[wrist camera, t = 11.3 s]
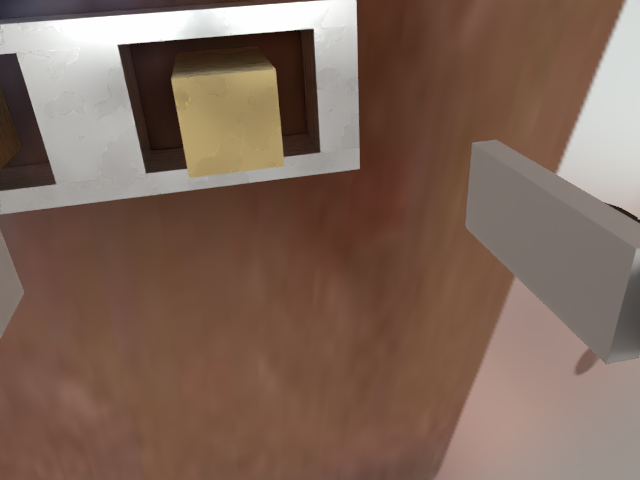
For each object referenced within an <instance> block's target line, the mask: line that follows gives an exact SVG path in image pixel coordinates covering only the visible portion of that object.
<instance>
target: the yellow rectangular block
mask: <svg viewBox="0 0 640 480" xmlns="http://www.w3.org/2000/svg"><path fill="white" fill-rule="evenodd" d="M171 81H172V87H173V92H174V98H175V103H176V109H177V114H178V120H179V125H180V131H181V136H182V142H183V147H184V153H185V158H186V164H187V169H188V175H189V178H194V177H202V176H210V175H218V174H226V173H234V172H242V171H251V170H259V169H267V168H275V167H283V166H284V155H283V144H282V133H281V122H280V112H279V101H278V90H277V79H276V69H275V68H274V67H273V65H272V64H271V63H270V62H269V60H268V59H267V58H266V56H265V55H264V54H263V53H262V51H261V50H260V49H259V48H258V46H251V47H239V48H228V49H216V50H205V51H193V52H182V53H177V55H176V59H175V64H174V68H173V73H172V77H171Z"/></svg>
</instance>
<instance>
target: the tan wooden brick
mask: <svg viewBox="0 0 640 480" xmlns="http://www.w3.org/2000/svg"><path fill="white" fill-rule="evenodd" d="M20 149H21V145H20V142H19V139H18V136H17V133H16V130H15V127H14V124H13V121H12V118H11V115H10V112H9V109H8V106H7V103H6V100H5V97H4V94H3V91H2V88H1V85H0V170H1V169H2V168H3V167H4V166H5V165H6V164H7V163H8V162H9V161H10V159H11V158H12V157H13V156H14V155H15V154H16V153H17V152H18V151H19V150H20Z"/></svg>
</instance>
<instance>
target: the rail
mask: <svg viewBox="0 0 640 480" xmlns="http://www.w3.org/2000/svg"><path fill="white" fill-rule="evenodd" d="M290 30H301V45H302V60H303V74H304V89H305V104H306V119H307V133H305V134H296V135H287V136H282V144H283V155H284V166H283V167H275V168H267V169H259V170H251V171H242V172H234V173H226V174H218V175H210V176H202V177H194V178H189V175H188V169H187V164H186V158H185V153H184V147H182V148H173V149H164V150H155V151H151V147H150V142H149V137H148V133H147V128H146V123H145V119H144V114H143V109H142V104H141V100H140V95H139V90H138V85H137V81H136V76H135V71H134V66H133V62H132V57H131V52H130V48H129V44H132V43H144V42H156V41H168V40H180V39H193V38H205V37H217V36H229V35H241V34H253V33H266V32H278V31H290ZM10 53H16V54H17V57H18V61H19V64H20V67H21V70H22V74H23V77H24V80H25V83H26V87H27V90H28V93H29V96H30V100H31V103H32V106H33V109H34V113H35V116H36V119H37V122H38V126H39V129H40V132H41V135H42V139H43V142H44V145H45V148H46V152H47V155H48V158H49V161H50V162H49V163H41V164H32V165H23V166H14V167H5V168H2V169H1V170H0V214H7V213H15V212H23V211H31V210H39V209H47V208H54V207H62V206H70V205H78V204H86V203H94V202H102V201H110V200H118V199H126V198H134V197H142V196H150V195H157V194H165V193H173V192H181V191H189V190H197V189H205V188H213V187H221V186H229V185H237V184H245V183H252V182H260V181H268V180H276V179H284V178H292V177H300V176H308V175H316V174H324V173H332V172H340V171H347V170H355V169H360V152H359V103H358V53H357V4H356V0H254V1H240V2H226V3H212V4H199V5H185V6H171V7H157V8H144V9H130V10H116V11H102V12H88V13H75V14H61V15H47V16H33V17H19V18H6V19H0V54H10Z"/></svg>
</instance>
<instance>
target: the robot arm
mask: <svg viewBox="0 0 640 480" xmlns="http://www.w3.org/2000/svg"><path fill="white" fill-rule="evenodd" d="M465 227H466V228H467V229H468V230H469V231H470V232H471V233H472V234H473V235H474V236H475V237H476V238H477V239H478V240H479V241H480V242H481V243H482V244H483V245H484V246H485V247H486V248H487V249H488V250H489V251H490V252H491V253H492V254H493V255H494V256H495V257H497V258H498V259H499V260H500V261H501V262H502V263H503V264H504V265H505V266H506V267H507V268H508V269H509V270H510V271H511V272H512V273H513V274H514V275H515V276H516V277H517V278H518V279H519V280H520V281H521V282H522V283H523V284H524V285H525V286H526V287H527V288H528V289H529V290H530V291H532V293H534V294H535V295H536V296H537V297H538V298H539V299H540V300H541V301H542V302H543V303H544V304H545V305H546V306H547V307H548V308H549V309H550V310H551V311H552V312H553V313H554V314H555V315H556V316H557V317H558V318H559V319H560V320H561V321H562V322H563V323H564V324H565V325H566V326H568V328H570V329H571V330H572V331H573V332H574V333H575V334H576V335H577V336H578V337H579V338H580V339H581V340H582V341H583V342H584V343H585V344H586V345H587V346H588V347H589V348H590V349H591V350H592V351H593V352H594V353H595V354H596V355H597V356H598V357H599V358H600V359H601V360H602V361H603V362H605V364H610V363H615V362H620V361H625V360H630V359H635V358H639V355H640V220H638V218H637V217H636V216H634V215H632V214H631V213H629V212H627V211H625V210H623V209H622V208H619V207H616V206H613V205H610V204H607V203H604V202H602V201H600V200H599V199H597V198H595V197H594V196H591V195H590V194H588V193H587V192H585V191H583V190H581V189H580V188H578V187H576V186H575V185H573V184H571V183H570V182H568V181H566V180H564V179H563V178H561V177H559V176H558V175H556V174H554V173H552V172H551V171H549V170H547V169H546V168H544V167H542V166H540V165H539V164H537V163H535V162H534V161H532V160H530V159H528V158H527V157H525V156H523V155H522V154H520V153H518V152H516V151H515V150H513V149H511V148H510V147H508V146H506V145H504V144H503V143H501V142H499V141H498V140H492V141H483V142H475V143H472V152H471V164H470V176H469V187H468V199H467V211H466V223H465ZM23 294H24V291H23V288H22V286H21V283H20V280H19V278H18V275H17V272H16V270H15V267H14V264H13V262H12V259H11V257H10V254H9V251H8V249H7V246H6V243H5V241H4V238H3V235H2V233H1V230H0V339H1V337H2V335H3V333H4V331H5V329H6V327H7V325H8V323H9V321H10V319H11V317H12V315H13V313H14V311H15V310H16V308H17V306H18V304H19V302H20V300H21V298H22V296H23Z"/></svg>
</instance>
